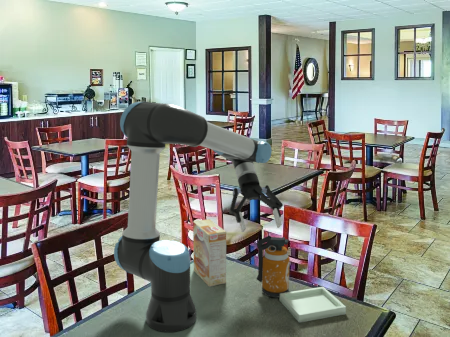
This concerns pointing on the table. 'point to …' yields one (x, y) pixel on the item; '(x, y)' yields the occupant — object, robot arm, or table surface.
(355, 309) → the table surface
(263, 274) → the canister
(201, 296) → the table surface
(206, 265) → the coffeecake box
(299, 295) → the tray
